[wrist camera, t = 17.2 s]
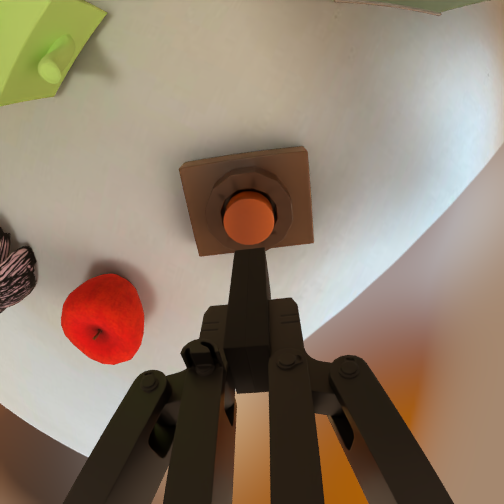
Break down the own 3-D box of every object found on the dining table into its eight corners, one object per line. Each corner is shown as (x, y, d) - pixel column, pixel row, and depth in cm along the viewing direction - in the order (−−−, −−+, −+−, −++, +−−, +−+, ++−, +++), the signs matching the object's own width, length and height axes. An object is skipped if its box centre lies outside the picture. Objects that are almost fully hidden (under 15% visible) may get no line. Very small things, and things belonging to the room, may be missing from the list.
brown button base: (303, 145, 24) (311, 155, 20) (309, 232, 28) (317, 253, 24) (184, 162, 25) (172, 174, 21) (202, 245, 29) (195, 268, 25)
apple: (162, 324, 34) (146, 377, 27) (97, 318, 34) (73, 364, 27) (150, 258, 29) (123, 308, 22) (77, 255, 29) (41, 299, 22)
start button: (270, 187, 22) (271, 195, 21) (275, 231, 24) (276, 242, 22) (221, 194, 22) (219, 202, 21) (229, 237, 24) (228, 248, 23)
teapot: (122, 80, 21) (49, 81, 12) (16, 127, 22) (-58, 155, 13) (108, -53, 13) (49, -93, 4) (5, 8, 14) (-64, 4, 5)
